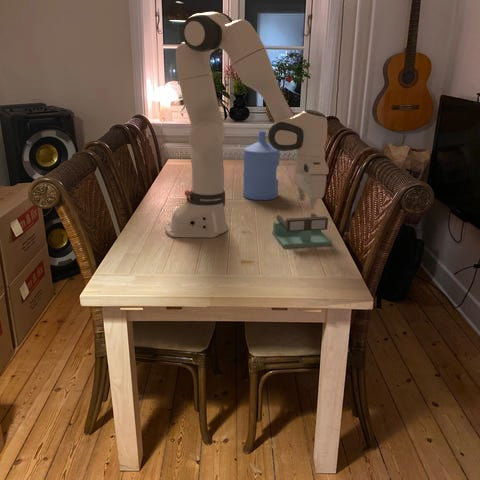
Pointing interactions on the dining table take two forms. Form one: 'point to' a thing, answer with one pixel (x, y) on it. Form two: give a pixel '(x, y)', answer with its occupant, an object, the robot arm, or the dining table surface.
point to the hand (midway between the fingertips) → (306, 204)
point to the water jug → (260, 170)
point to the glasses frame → (304, 223)
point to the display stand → (299, 237)
